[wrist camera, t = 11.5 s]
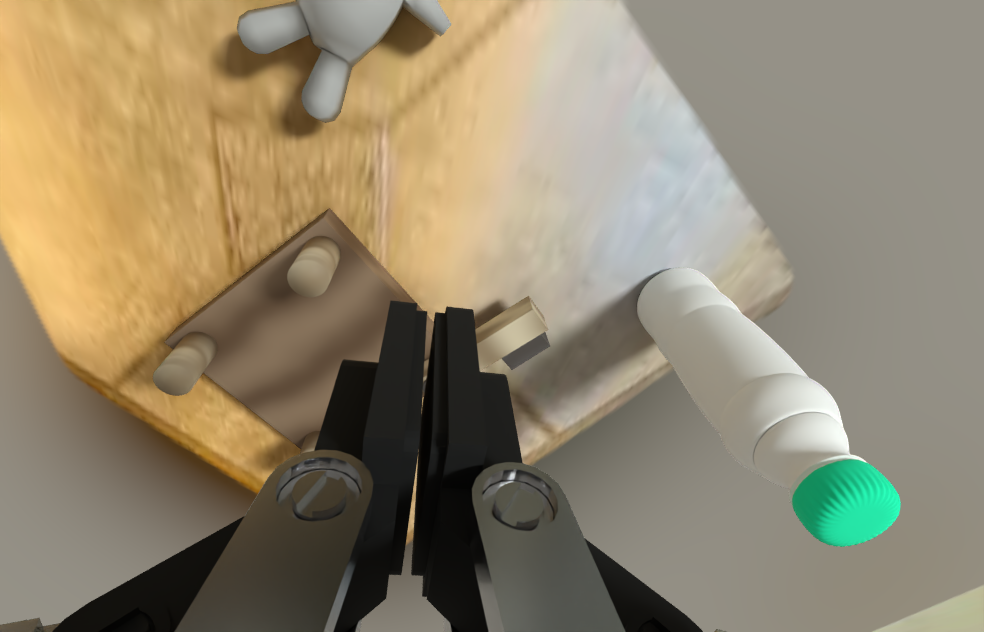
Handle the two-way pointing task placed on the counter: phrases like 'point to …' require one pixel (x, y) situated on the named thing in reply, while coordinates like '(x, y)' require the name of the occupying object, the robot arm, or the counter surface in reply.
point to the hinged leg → (506, 333)
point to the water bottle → (766, 408)
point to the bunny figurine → (332, 38)
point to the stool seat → (295, 330)
